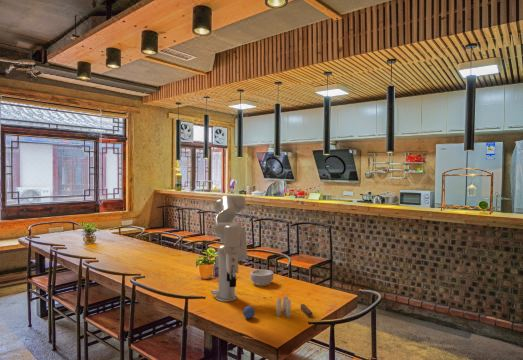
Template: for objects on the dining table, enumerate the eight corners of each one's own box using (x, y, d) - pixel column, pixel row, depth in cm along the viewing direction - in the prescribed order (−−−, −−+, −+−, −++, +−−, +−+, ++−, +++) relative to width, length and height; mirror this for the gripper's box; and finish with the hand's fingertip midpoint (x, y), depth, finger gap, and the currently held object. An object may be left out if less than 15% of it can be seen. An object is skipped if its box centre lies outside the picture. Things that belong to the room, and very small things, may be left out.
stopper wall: (308, 317, 180) (308, 312, 180) (300, 308, 192) (300, 304, 192) (312, 317, 181) (312, 312, 181) (304, 308, 193) (304, 303, 192)
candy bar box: (222, 272, 259) (222, 250, 258) (226, 273, 255) (227, 251, 255) (210, 275, 250) (210, 252, 250) (215, 276, 247) (215, 253, 246)
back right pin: (285, 317, 180) (286, 301, 180) (285, 315, 183) (286, 299, 182) (290, 317, 180) (290, 301, 180) (290, 315, 182) (290, 299, 182)
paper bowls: (253, 279, 242) (253, 268, 242) (274, 281, 239) (275, 269, 239) (248, 286, 228) (248, 274, 227) (271, 288, 224) (271, 276, 224)
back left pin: (282, 313, 185) (283, 297, 185) (283, 311, 188) (283, 295, 187) (287, 313, 185) (287, 297, 185) (287, 312, 187) (287, 296, 187)
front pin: (276, 316, 182) (276, 299, 182) (276, 314, 184) (276, 298, 184) (280, 316, 181) (281, 300, 181) (281, 314, 184) (281, 298, 184)
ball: (242, 320, 176) (242, 308, 176) (243, 315, 182) (244, 303, 182) (253, 320, 176) (254, 309, 175) (255, 316, 182) (255, 304, 181)
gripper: (242, 253, 168) (241, 289, 169) (236, 245, 185) (235, 278, 185) (226, 253, 166) (226, 290, 167) (221, 246, 183) (221, 279, 184)
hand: (231, 283), depth 176 cm, fingers open, 8 cm apart
